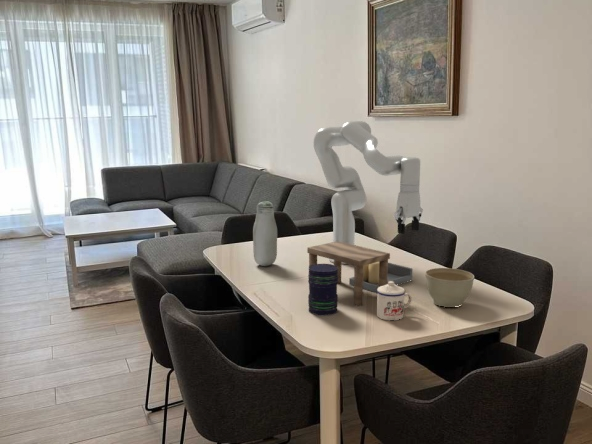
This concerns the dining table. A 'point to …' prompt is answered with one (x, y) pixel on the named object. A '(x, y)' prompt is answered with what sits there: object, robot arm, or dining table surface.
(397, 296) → the teacup with lid
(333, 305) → the storage jar
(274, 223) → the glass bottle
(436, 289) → the planter bowl
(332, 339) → the dining table surface
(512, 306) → the dining table surface
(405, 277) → the tray
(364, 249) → the low table
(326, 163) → the robot arm
